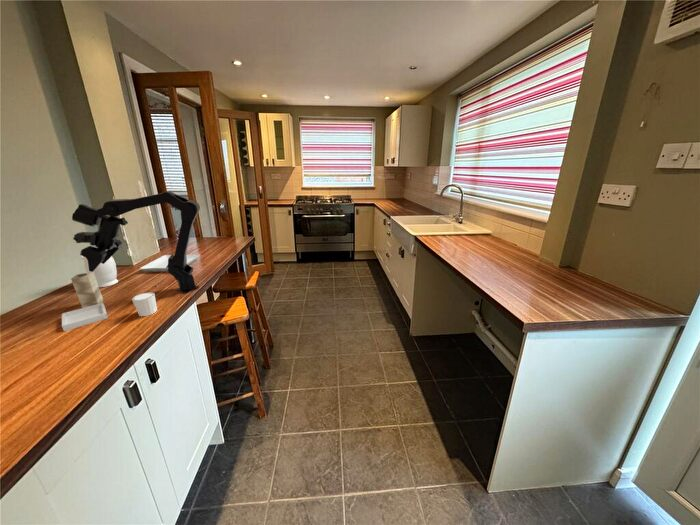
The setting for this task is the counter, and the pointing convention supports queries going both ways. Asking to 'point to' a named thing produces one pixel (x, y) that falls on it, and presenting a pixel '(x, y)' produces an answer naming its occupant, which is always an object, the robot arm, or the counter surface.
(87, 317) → the tray
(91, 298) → the beech block
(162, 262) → the salad plate
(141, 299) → the shot glass
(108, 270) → the jar
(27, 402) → the counter surface
